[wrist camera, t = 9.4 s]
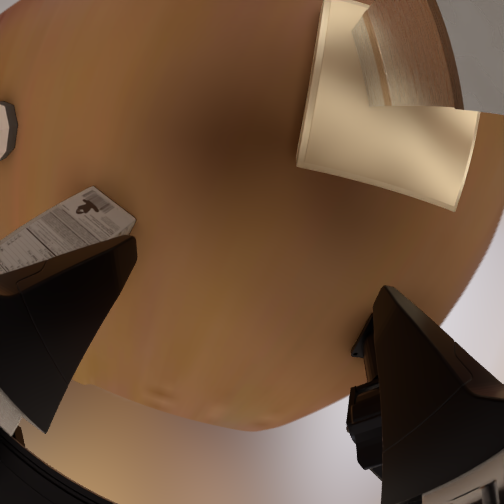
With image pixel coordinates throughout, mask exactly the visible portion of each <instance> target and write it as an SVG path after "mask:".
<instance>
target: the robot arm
mask: <svg viewBox="0 0 504 504" xmlns="http://www.w3.org/2000/svg"><path fill="white" fill-rule="evenodd" d="M136 261H137V247H136V239H135V237H134V236H130V235H121V236H118V237H115V238H111V239H108V240H105V241H101V242H98V243H95V244H92V245H89V246H85V247H82V248H79V249H76V250H73V251H70V252H67V253H64V254H61V255H58V256H55V257H52V258H49V259H48V260H47V259H46V260H43V261H40V262H37V263H34V264H32V265H29V266H25V267H22V268H19V269H16V270H13V271H9V272H6V273H3V274H0V504H117V503H115V502H113V501H110V500H109V499H106V498H104V497H102V496H100V495H98V494H96V493H94V492H93V491H91V490H89V489H87V488H85V487H83V486H82V485H80V484H78V483H76V482H75V481H73V480H71V479H70V478H68V477H66V476H65V475H63V474H62V473H60V472H59V471H57V470H56V469H54V468H53V467H51V466H50V465H48V464H47V463H45V462H44V461H42V460H41V459H40V458H38V457H37V456H36V455H35V454H33V453H32V452H31V451H29V450H28V449H27V448H25V444H24V439H23V435H22V430H21V427H19V426H18V424H19V423H20V421H21V419H22V417H23V418H25V419H26V420H27V421H28V422H30V423H31V424H32V425H34V426H35V427H36V428H38V429H39V430H41V431H42V432H43V433H45V434H46V433H47V431H48V429H49V427H50V424H51V422H52V420H53V417H54V415H55V413H56V411H57V409H58V406H59V404H60V402H61V400H62V398H63V396H64V394H65V392H66V389H67V387H68V385H69V383H70V381H71V379H72V377H73V375H74V373H75V371H76V369H77V367H78V365H79V364H80V362H81V360H82V358H83V356H84V354H85V352H86V351H87V349H88V347H89V345H90V343H91V342H92V340H93V338H94V336H95V335H96V333H97V331H98V329H99V328H100V326H101V324H102V323H103V321H104V319H105V317H106V316H107V314H108V313H109V311H110V309H111V308H112V306H113V304H114V303H115V301H116V300H117V298H118V296H119V295H120V293H121V291H122V289H123V287H124V285H125V283H126V281H127V279H128V277H129V275H130V273H131V271H132V269H133V267H134V265H135V263H136ZM351 356H352V357H360V358H364V364H365V370H366V376H367V383H365V384H362V385H360V386H357V387H356V386H355V387H352V388H351V390H350V396H349V405H348V413H347V421H346V424H347V427H346V429H347V432H349V433H350V436H351V438H352V440H353V441H354V443H355V444H356V449H357V460H358V463H359V464H360V465H361V467H362V468H363V469H364V470H367V469H370V470H371V471H372V472H373V473H374V474H375V475H376V476H377V477H378V478H379V479H380V480H381V481H382V495H381V504H504V384H502V383H501V382H500V381H498V380H497V379H496V378H495V377H494V376H493V375H492V374H491V373H490V372H488V371H487V370H486V369H485V368H484V367H483V366H482V365H480V364H479V363H478V362H477V361H476V360H475V359H474V358H473V357H471V356H470V355H469V354H468V353H467V352H466V351H465V350H464V349H463V348H462V347H461V346H460V345H459V344H458V343H456V342H454V340H453V339H452V338H451V337H450V336H449V335H448V334H447V333H446V332H445V331H443V330H442V329H441V328H440V327H439V326H438V325H437V324H436V323H435V322H434V321H433V320H431V319H430V318H429V317H428V316H427V315H426V314H425V313H423V312H422V311H421V310H420V309H419V308H418V307H417V306H415V305H414V304H413V303H412V302H411V301H410V300H409V299H407V298H406V297H405V296H404V295H403V294H401V293H400V292H399V291H398V290H397V289H395V288H394V287H391V286H386V285H384V286H383V287H382V288H381V290H380V292H379V294H378V296H377V298H376V300H375V302H374V305H373V314H372V315H371V316H370V318H369V320H368V322H367V324H366V325H365V327H364V329H363V331H362V333H361V335H360V336H359V338H358V340H357V342H356V344H355V345H354V347H353V349H352V350H351Z"/></svg>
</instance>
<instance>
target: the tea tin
mask: <svg viewBox="0 0 504 504" xmlns="http://www.w3.org/2000/svg"><path fill="white" fill-rule="evenodd" d="M351 32H352V35H353V38H354V42H355V45H356V49H357V53H358V57H359V60H360V65H361V69H362V73H363V77H364V82H365V86H366V91H367V96H368V102H369V107H373V106H434V107H453V108H455V109H459V110H469V111H479V112H487V113H494V114H501V115H504V0H374V2H373V3H372V4H371V5H370V7H369V8H368V9H367V10H366V11H365V12H364V14H363V15H362V17H361V19H360V20H359V21H358V23H357V24H356V25H355V27H354V28H353V29H352V31H351Z"/></svg>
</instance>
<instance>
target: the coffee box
mask: <svg viewBox="0 0 504 504" xmlns="http://www.w3.org/2000/svg"><path fill="white" fill-rule="evenodd" d="M135 221H136V219H135V218H134V217H133V216H131V215H130V214H129V213H127V212H126V211H125V210H124V209H122V208H121V207H120V206H118V205H117V204H116V203H114V202H113V201H112V200H111V199H109V198H108V197H107V196H105V195H104V194H103V193H101V192H100V191H99V190H98V189H96V188H95V187H94V186H92V187H89V188H87V189H85V190H83V191H82V192H80V193H78V194H76V195H74V196H72V197H70V198H68V199H66V200H65V201H63V202H61V203H59V204H58V205H56V206H54V207H52V208H50V209H49V210H47V211H45V212H44V213H42V214H40V215H39V216H37V217H35V218H34V219H32V220H30V221H29V222H27V223H26V224H24V225H23V226H21V227H19V228H18V229H16V230H15V231H14V232H12V233H11V234H9V235H8V236H6V237H5V238H3V239H2V240H0V274H3V273H6V272H9V271H13V270H16V269H19V268H22V267H25V266H29V265H32V264H34V263H37V262H40V261H43V260H46V259H47V260H48V259H49V258H52V257H55V256H58V255H61V254H64V253H67V252H70V251H73V250H76V249H79V248H82V247H85V246H89V245H92V244H95V243H98V242H101V241H105V240H108V239H111V238H115V237H118V236H121V235H129V233H130V231H131V229H132V227H133V225H134V224H135Z"/></svg>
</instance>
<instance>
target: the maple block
mask: <svg viewBox="0 0 504 504" xmlns="http://www.w3.org/2000/svg"><path fill="white" fill-rule="evenodd" d="M369 7H370V5H367V4H363V3H360V2H357V1H353V0H323V4H322V7H321V11H320V16H319V23H318V30H317V37H316V43H315V50H314V56H313V62H312V68H311V74H310V81H309V86H308V92H307V98H306V104H305V110H304V115H303V121H302V126H301V132H300V137H299V143H298V148H297V154H296V167H300V168H305V169H310V170H314V171H319V172H323V173H327V174H332V175H336V176H340V177H344V178H348V179H352V180H356V181H360V182H363V183H367V184H371V185H374V186H378V187H381V188H385V189H388V190H391V191H395V192H398V193H401V194H404V195H408V196H411V197H414V198H417V199H420V200H423V201H426V202H429V203H432V204H434V205H437V206H440V207H443V208H445V209H448V210H451V211H454V212H455V210H456V207H457V204H458V201H459V198H460V195H461V192H462V189H463V186H464V183H465V179H466V176H467V172H468V168H469V165H470V161H471V157H472V152H473V148H474V144H475V139H476V134H477V129H478V123H479V117H480V112H479V111H469V110H459V109H455V108H453V107H434V106H373V107H369V102H368V96H367V91H366V86H365V82H364V77H363V73H362V69H361V65H360V60H359V57H358V53H357V49H356V45H355V42H354V38H353V35H352V32H351V31H352V29H353V28H354V27H355V25H356V24H357V23H358V21H359V20H360V19H361V17H362V15H363V14H364V12H365V11H366V10H367V9H368V8H369Z"/></svg>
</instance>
